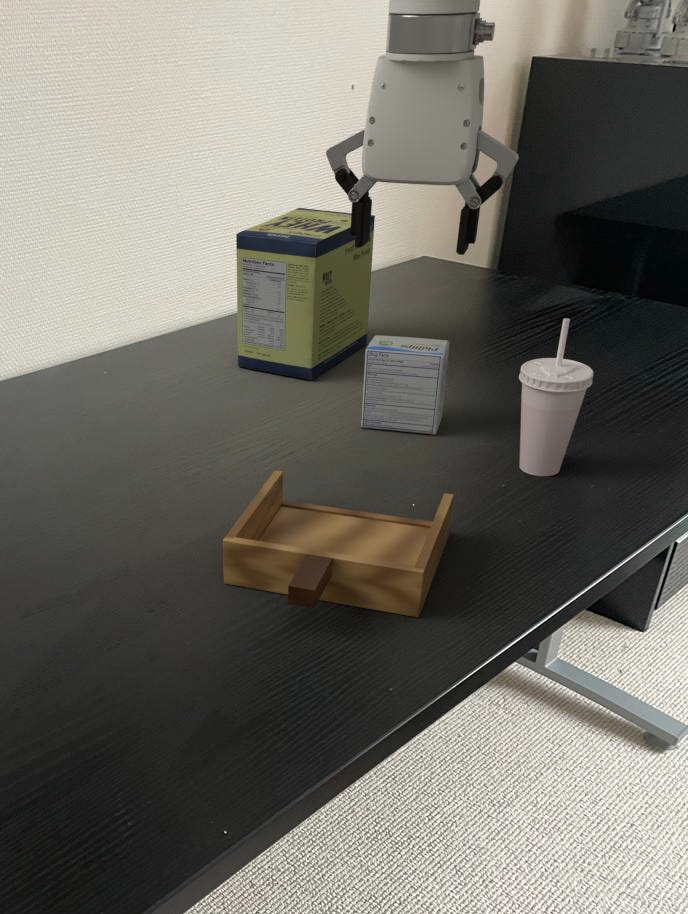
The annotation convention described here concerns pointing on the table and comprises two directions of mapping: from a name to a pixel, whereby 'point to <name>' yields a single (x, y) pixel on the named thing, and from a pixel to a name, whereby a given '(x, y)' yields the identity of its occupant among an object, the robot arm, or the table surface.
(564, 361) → the smoothie
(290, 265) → the protein box
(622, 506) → the table surface
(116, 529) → the table surface
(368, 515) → the wooden drawer
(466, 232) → the robot arm
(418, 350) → the medicine box
